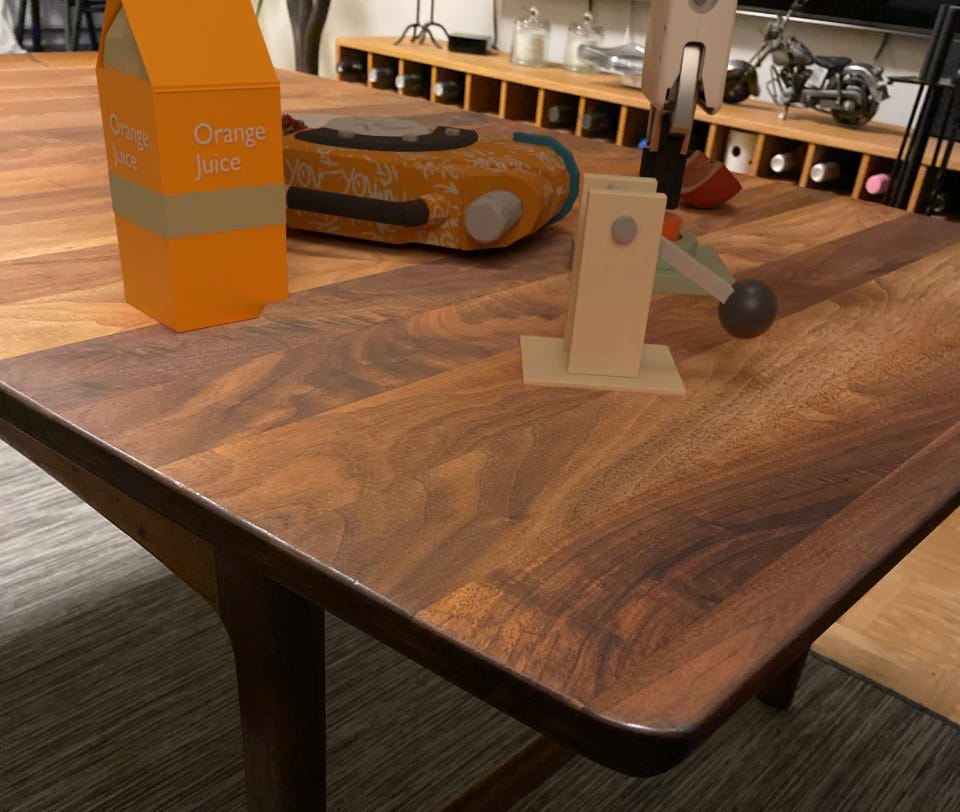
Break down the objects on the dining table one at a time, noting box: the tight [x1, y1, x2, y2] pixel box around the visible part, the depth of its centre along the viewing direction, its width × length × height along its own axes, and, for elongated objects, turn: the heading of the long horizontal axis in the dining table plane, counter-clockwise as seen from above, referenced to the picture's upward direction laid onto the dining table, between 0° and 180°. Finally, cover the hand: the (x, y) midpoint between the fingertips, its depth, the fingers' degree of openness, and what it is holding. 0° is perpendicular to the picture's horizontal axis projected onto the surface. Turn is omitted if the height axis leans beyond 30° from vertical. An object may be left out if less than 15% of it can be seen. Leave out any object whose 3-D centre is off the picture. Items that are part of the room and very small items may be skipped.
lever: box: [606, 182, 779, 340], centre depth 62 cm, size 13×4×4 cm, turn 90°
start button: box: [661, 210, 683, 241], centre depth 82 cm, size 4×4×2 cm
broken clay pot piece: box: [680, 149, 743, 209], centre depth 108 cm, size 8×7×5 cm
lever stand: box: [519, 172, 687, 396], centre depth 63 cm, size 10×8×12 cm
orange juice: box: [94, 0, 289, 333], centre depth 67 cm, size 8×9×20 cm
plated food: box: [281, 112, 349, 137], centre depth 117 cm, size 30×30×3 cm
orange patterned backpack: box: [282, 115, 581, 251], centre depth 90 cm, size 23×8×30 cm
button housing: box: [569, 228, 736, 297], centre depth 84 cm, size 12×10×4 cm
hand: (656, 205), depth 81 cm, fingers closed
